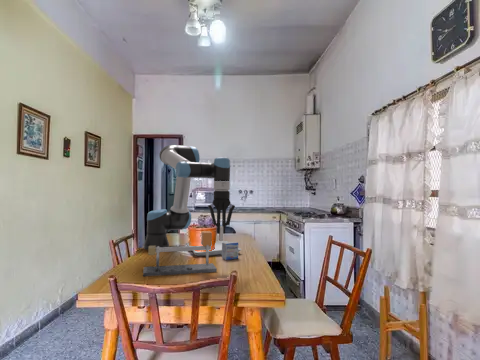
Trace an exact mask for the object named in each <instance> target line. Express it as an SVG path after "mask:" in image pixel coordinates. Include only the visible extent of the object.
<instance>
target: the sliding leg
mask: <svg viewBox="0 0 480 360" xmlns="http://www.w3.org/2000/svg"><path fill="white" fill-rule="evenodd" d="M212 241H213V233H212V231H210V230H203V231H201V241H200V242H201V244H202V245H203V246H206V256H205V264H206V266H208V264H209V258H210V256H209V246H212Z"/></svg>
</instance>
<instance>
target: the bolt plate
mask: <svg viewBox="0 0 480 360" xmlns="http://www.w3.org/2000/svg"><path fill="white" fill-rule="evenodd" d="M217 269H218V268H217V267H216V266H215V264H214V263H212V262H211V263H209V262H208V266H206V263H195V264H175V265H159V268H158V269H157V268H156V265H155V266H153V265H152V266H144V267H143V271H142V273H143V274H142V277H156V276H159V277H160V276H172V275H173V276H174V275H176V276H177V275H187V274H188V275H189V274H191V273H192V274H205V273H218V272H217Z"/></svg>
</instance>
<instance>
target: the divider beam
mask: <svg viewBox="0 0 480 360" xmlns="http://www.w3.org/2000/svg"><path fill="white" fill-rule="evenodd" d="M193 250H206V246H187V245H186V246H185V245H183V246H169V247H159V246H157V247H156V246H149V248H148V250H147V251H148V254H147V255H148V256H156V258H155V260H156V261H155V262H156V263H155V266H156V268H157V269H158V268H159V266H160V253H163V252H164V253H165V252H166V253H167V252H190V251H192V252H193ZM209 250H211V246H209Z"/></svg>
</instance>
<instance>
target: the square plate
mask: <svg viewBox="0 0 480 360" xmlns="http://www.w3.org/2000/svg"><path fill="white" fill-rule="evenodd" d="M226 242H229V241H227V240H223V241H219V240H216V243H215V249H214V250H212V251H209V257H211V256H222V243H226ZM189 243H190V242H187V243H185V245H186V246H189ZM241 251H242V248H241V247H239V246H238V253H240V252H241ZM192 253H193V254H194V255H195V256H196V257H206V252H197V251H195V250H193V251H192Z"/></svg>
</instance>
